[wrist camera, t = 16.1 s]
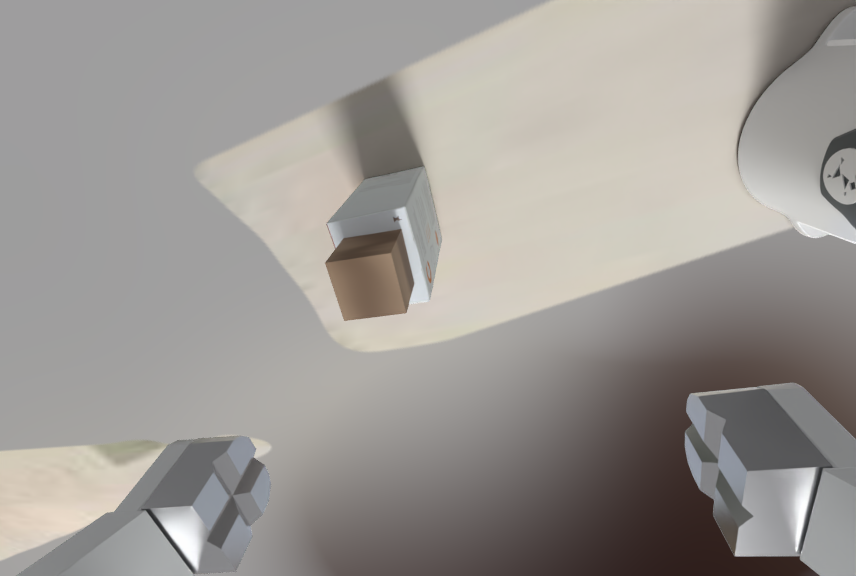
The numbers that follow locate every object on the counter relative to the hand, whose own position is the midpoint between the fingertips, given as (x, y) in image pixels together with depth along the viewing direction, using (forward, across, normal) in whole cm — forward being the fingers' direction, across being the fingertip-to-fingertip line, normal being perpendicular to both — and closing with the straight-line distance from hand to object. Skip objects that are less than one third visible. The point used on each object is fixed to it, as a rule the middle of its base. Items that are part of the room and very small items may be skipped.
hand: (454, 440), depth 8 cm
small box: (+37, +8, +6) cm, 39 cm away
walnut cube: (+24, +8, +6) cm, 26 cm away
